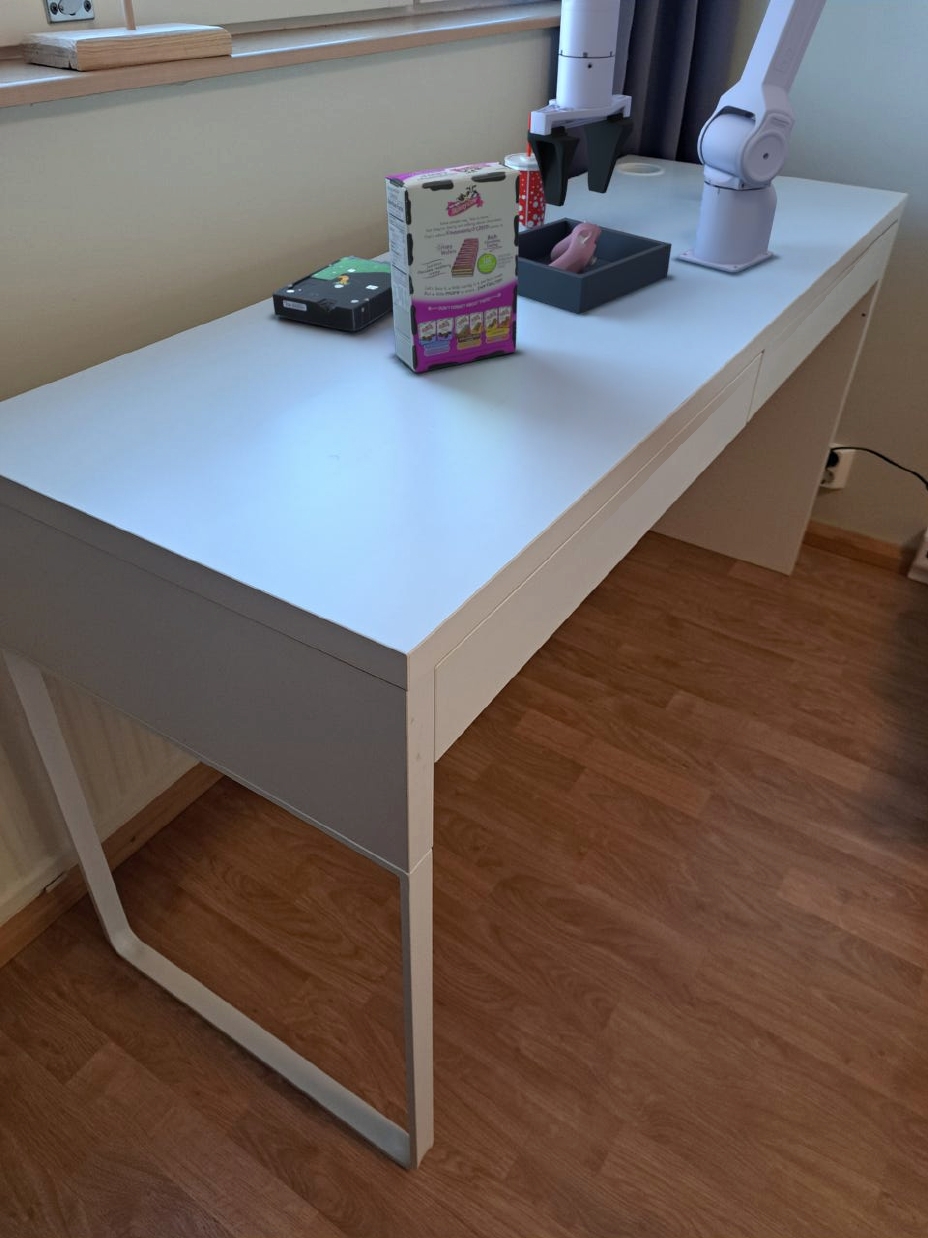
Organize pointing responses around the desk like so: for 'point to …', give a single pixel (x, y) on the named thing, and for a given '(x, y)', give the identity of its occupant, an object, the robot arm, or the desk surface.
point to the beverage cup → (528, 188)
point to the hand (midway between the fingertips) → (576, 197)
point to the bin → (613, 275)
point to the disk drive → (339, 294)
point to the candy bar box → (454, 263)
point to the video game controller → (576, 248)
